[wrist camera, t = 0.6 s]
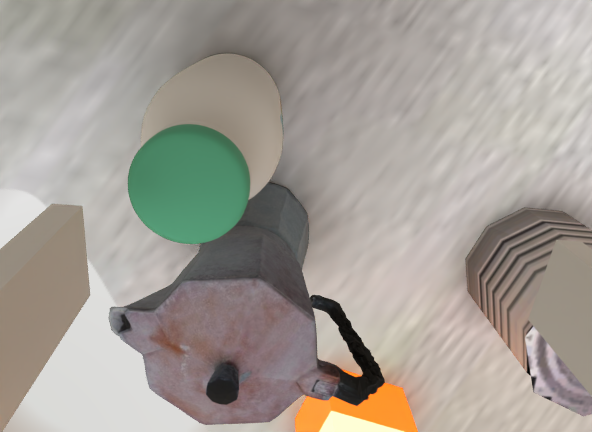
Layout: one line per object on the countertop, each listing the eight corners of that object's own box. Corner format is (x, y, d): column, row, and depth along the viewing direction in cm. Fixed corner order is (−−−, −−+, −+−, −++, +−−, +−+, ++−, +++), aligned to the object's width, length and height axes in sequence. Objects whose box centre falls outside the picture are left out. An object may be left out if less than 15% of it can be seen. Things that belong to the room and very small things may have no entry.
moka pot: (182, 151, 37) (92, 277, 19) (364, 198, 39) (446, 352, 21) (161, 255, 41) (68, 450, 22) (331, 293, 43) (375, 498, 24)
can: (439, 292, 43) (496, 384, 32) (508, 185, 40) (600, 248, 29) (538, 331, 46) (624, 431, 35) (613, 234, 42) (736, 310, 31)
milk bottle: (158, 90, 35) (34, 163, 17) (243, 31, 34) (209, 40, 16) (219, 172, 38) (169, 314, 19) (300, 120, 37) (328, 219, 18)
